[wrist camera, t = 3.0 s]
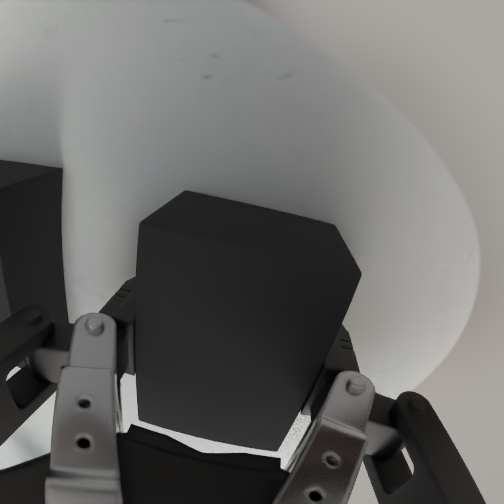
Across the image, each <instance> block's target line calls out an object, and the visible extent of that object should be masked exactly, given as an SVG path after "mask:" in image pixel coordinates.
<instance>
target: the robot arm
mask: <svg viewBox="0 0 504 504" xmlns="http://www.w3.org/2000/svg"><path fill="white" fill-rule="evenodd" d="M135 288H136V277H134V278H132V279H130V280H128V281H126V282H125V283H124V284H123V285H122V286H121V288H120V290H118V291H117V292H116V293H115V295H113V297H112V298H111V299H110V300H109V301H108V302H107V303H106V305H105V306H104V307H103V308H102V309H101V310H100V311H99V313H88V314H85V315H82V316H81V317H79V318H78V319H77V320H76V322H75V324H71V323H62V322H54V320H53V315H52V312H51V311H50V310H49V309H48V308H46V307H43V306H39V305H33V306H28V307H25V308H23V309H21V310H20V311H18V312H17V313H15V314H13V315H12V316H10V317H9V318H7V319H6V320H4V321H3V322H1V323H0V446H1V445H2V444H3V443H4V442H5V441H6V440H7V439H8V438H9V437H10V436H11V435H12V434H13V433H14V432H15V431H16V430H17V429H18V428H19V427H20V426H21V425H22V424H23V423H24V422H25V421H26V420H27V419H28V418H29V417H30V416H31V415H32V414H33V413H34V412H35V411H36V410H37V409H38V408H39V407H40V406H41V405H42V404H43V403H44V402H45V401H46V400H47V399H48V398H49V397H50V396H51V395H52V394H53V393H54V392H55V391H56V390H57V391H56V398H55V406H54V415H53V425H52V438H51V452H50V453H48V454H45V455H42V456H40V457H37V458H34V459H32V460H29V461H26V462H23V463H21V464H18V465H15V466H12V467H9V468H6V469H3V470H0V504H347V503H348V500H349V498H350V495H351V492H352V490H353V487H354V484H355V481H356V478H357V475H358V473H359V470H360V467H361V463H362V460H363V462H364V465H365V468H366V470H367V473H368V476H369V478H370V481H371V484H372V486H373V489H374V492H375V495H376V497H377V500H378V503H379V504H486V503H485V501H484V499H483V497H482V495H481V493H480V491H479V489H478V487H477V485H476V483H475V482H474V480H473V478H472V476H471V474H470V472H469V470H468V468H467V467H466V465H465V463H464V461H463V459H462V457H461V456H460V454H459V452H458V450H457V449H456V447H455V445H454V443H453V442H452V440H451V438H450V436H449V435H448V433H447V431H446V429H445V428H444V426H443V424H442V423H441V421H440V420H439V418H438V416H437V414H436V413H435V411H434V410H433V408H432V406H431V405H430V403H429V401H428V400H427V399H426V398H424V397H423V396H422V395H420V394H418V393H415V392H411V391H407V392H403V393H401V394H400V395H399V396H398V398H397V399H396V400H394V399H391V398H388V397H385V396H382V395H380V394H377V393H376V392H375V387H374V385H373V383H372V382H371V380H370V379H369V378H367V377H366V376H364V375H363V374H361V373H360V371H359V367H358V363H357V360H356V356H355V353H354V350H353V346H352V343H351V339H350V336H349V332H348V331H347V330H346V329H345V328H344V326H343V325H342V324H341V327H340V329H339V331H338V333H337V336H336V338H335V340H334V342H333V345H332V347H331V349H330V351H329V353H328V355H327V358H326V360H325V362H324V364H323V366H322V368H321V370H320V372H319V374H318V376H317V378H316V380H315V382H314V384H313V386H312V388H311V390H310V392H309V394H308V396H307V398H306V400H305V402H304V404H303V406H302V408H301V414H302V415H310V416H311V422H310V424H309V425H308V427H307V429H306V431H305V433H304V435H303V436H302V438H301V440H300V442H299V444H298V446H297V447H296V449H295V451H294V453H293V455H292V456H291V458H290V460H289V462H288V463H287V465H286V467H285V468H284V469H281V468H280V465H281V458H276V457H268V456H261V455H254V454H248V453H202V452H200V451H197V450H195V449H193V448H191V447H189V446H187V445H185V444H183V443H181V442H179V441H177V440H175V439H173V438H171V437H169V436H167V435H164V434H161V433H158V432H154V431H151V430H148V429H145V428H142V427H139V426H136V425H133V424H131V425H130V428H129V430H128V432H127V433H124V431H123V420H122V404H121V383H120V380H121V378H122V376H123V374H124V373H127V374H130V375H133V376H134V375H135V373H136V366H135ZM24 359H26V361H27V364H26V365H25V366H24V367H23V368H22V369H20V370H19V371H18V372H17V373H16V374H14V375H13V376H12V377H11V378H10V379H8V380H7V381H6V378H7V375H8V373H9V372H10V371H11V370H12V369H13V368H15V367H16V366H17V365H18V364H20V363H21V362H22V361H23V360H24ZM404 447H405V448H406V449H407V452H408V454H409V456H410V458H411V460H412V462H413V465H414V473H413V475H412V473H411V470H410V468H409V466H408V464H407V462H406V460H405V457H404V455H403V453H402V451H401V450H402V449H403V448H404Z"/></svg>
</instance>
